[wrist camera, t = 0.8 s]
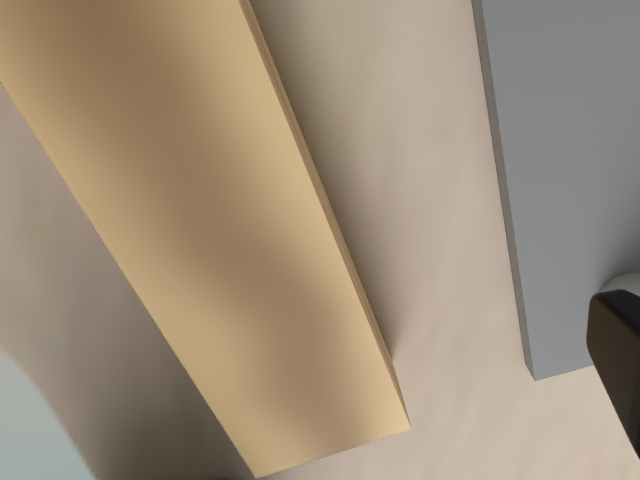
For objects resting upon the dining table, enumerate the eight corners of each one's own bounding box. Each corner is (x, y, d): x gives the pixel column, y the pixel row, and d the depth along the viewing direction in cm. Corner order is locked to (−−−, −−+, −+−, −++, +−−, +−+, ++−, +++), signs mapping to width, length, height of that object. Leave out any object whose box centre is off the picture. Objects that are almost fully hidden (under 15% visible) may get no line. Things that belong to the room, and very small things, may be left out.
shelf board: (255, 399, 26) (255, 478, 22) (-96, -205, 15) (-201, -231, 11) (390, 354, 25) (411, 429, 22) (128, -309, 14) (88, -369, 11)
